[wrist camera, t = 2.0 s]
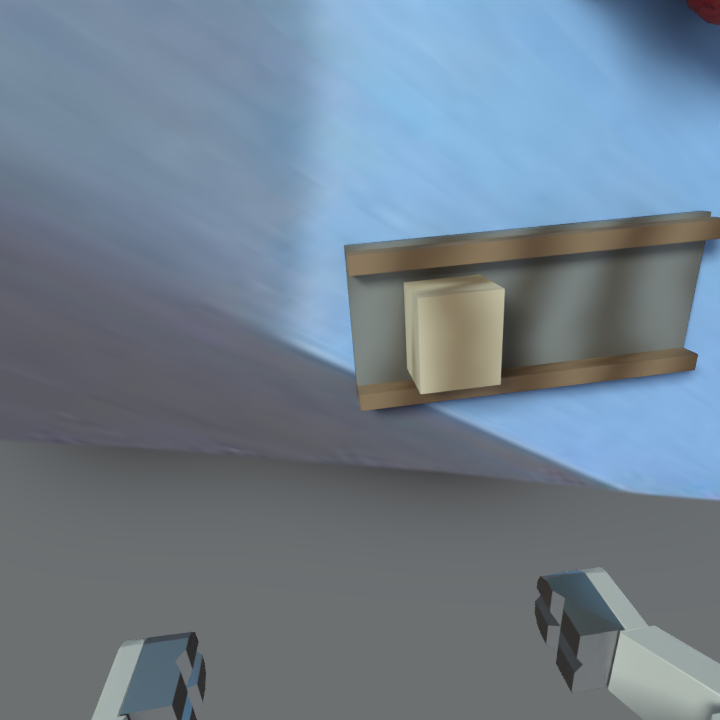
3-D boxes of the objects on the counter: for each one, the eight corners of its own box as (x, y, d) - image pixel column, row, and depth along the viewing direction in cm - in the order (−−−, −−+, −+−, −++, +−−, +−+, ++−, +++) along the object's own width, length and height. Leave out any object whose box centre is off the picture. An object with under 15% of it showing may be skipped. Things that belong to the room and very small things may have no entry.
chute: (701, 210, 31) (729, 213, 29) (671, 362, 35) (693, 373, 33) (343, 245, 29) (347, 250, 27) (357, 400, 33) (361, 414, 31)
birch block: (480, 274, 30) (504, 289, 26) (478, 360, 32) (500, 384, 28) (403, 282, 29) (417, 298, 26) (407, 368, 32) (420, 394, 28)
